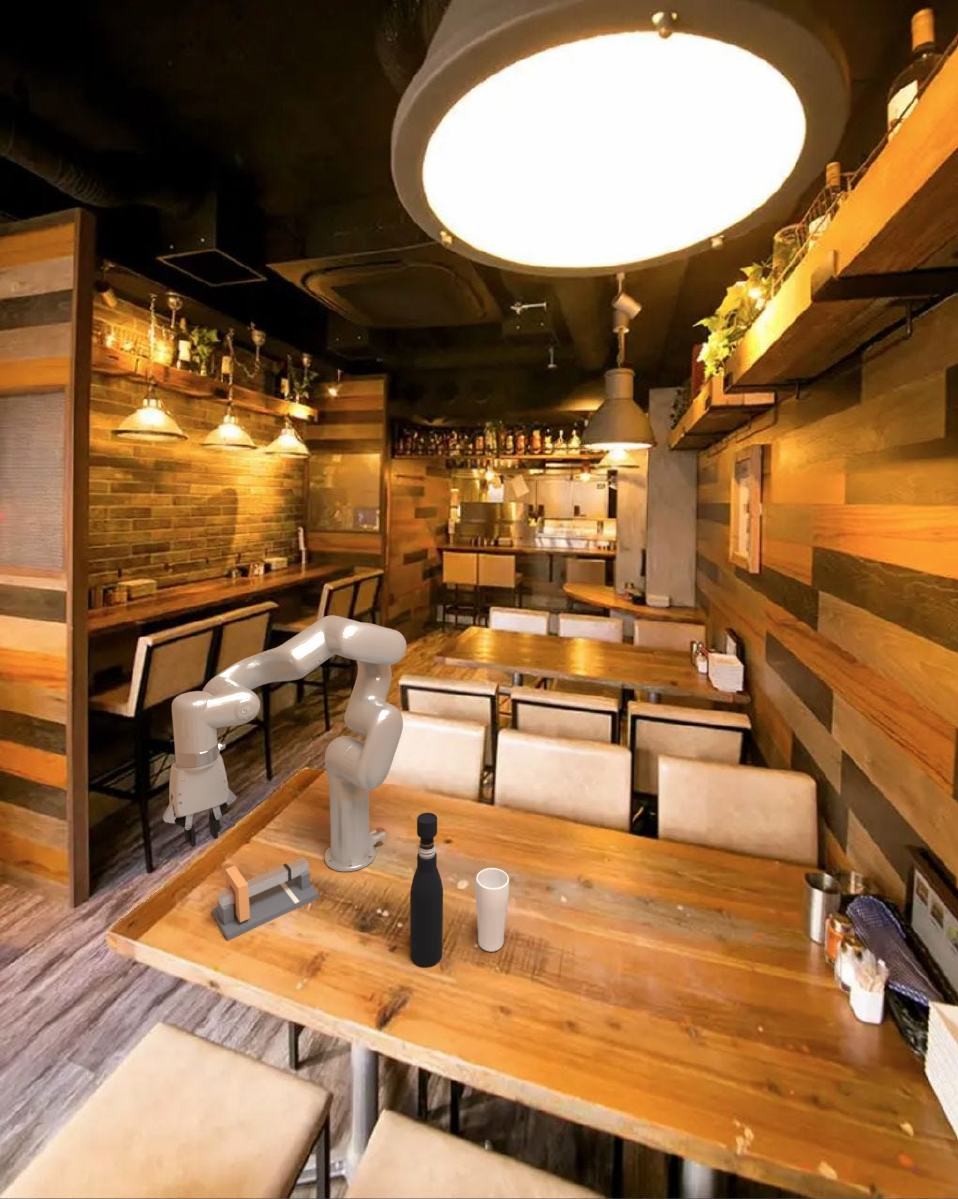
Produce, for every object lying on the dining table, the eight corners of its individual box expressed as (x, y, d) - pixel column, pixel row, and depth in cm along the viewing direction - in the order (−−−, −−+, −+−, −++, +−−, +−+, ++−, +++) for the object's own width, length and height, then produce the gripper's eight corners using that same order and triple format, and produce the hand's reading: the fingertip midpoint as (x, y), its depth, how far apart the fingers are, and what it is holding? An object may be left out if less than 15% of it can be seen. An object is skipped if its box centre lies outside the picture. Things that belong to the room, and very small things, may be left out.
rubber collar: (236, 898, 127) (234, 865, 126) (249, 918, 121) (248, 884, 120) (227, 902, 126) (225, 869, 124) (240, 922, 120) (238, 888, 118)
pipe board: (299, 875, 138) (299, 857, 137) (318, 897, 131) (318, 879, 130) (212, 913, 125) (210, 894, 124) (227, 940, 117) (226, 920, 117)
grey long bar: (303, 866, 134) (303, 856, 134) (308, 872, 132) (308, 861, 132) (218, 902, 122) (217, 891, 121) (222, 909, 120) (222, 898, 119)
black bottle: (437, 970, 111) (438, 829, 106) (405, 964, 113) (405, 824, 107) (445, 945, 117) (447, 811, 112) (415, 940, 119) (416, 807, 113)
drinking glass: (511, 936, 120) (513, 871, 118) (501, 960, 114) (503, 892, 111) (480, 927, 123) (482, 864, 120) (469, 950, 116) (471, 884, 114)
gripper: (234, 737, 121) (238, 817, 124) (145, 760, 110) (152, 846, 113) (246, 750, 116) (251, 833, 119) (154, 774, 105) (162, 865, 108)
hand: (203, 839), depth 116 cm, fingers open, 3 cm apart
